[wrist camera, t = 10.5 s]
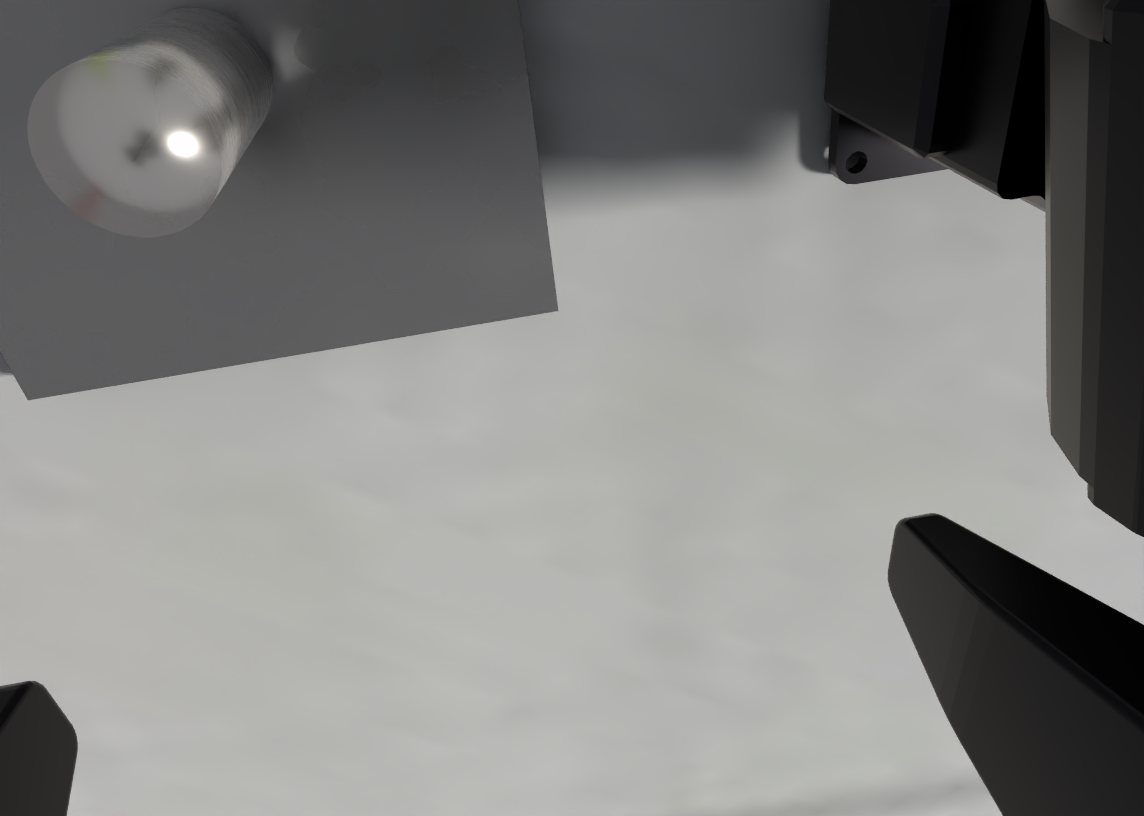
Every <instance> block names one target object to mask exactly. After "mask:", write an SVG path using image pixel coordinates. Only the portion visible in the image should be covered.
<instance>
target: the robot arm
mask: <svg viewBox="0 0 1144 816" xmlns="http://www.w3.org/2000/svg"><path fill="white" fill-rule="evenodd" d="M824 99H825V101H826V103H827V104H828V105H830V106H831V107H832V115H831V130H830V144H829V158H828V163H829V169H830V171H831V172H832V174H833V175H834V176H835V177H837V178H838V179H840V180H841V181H843V182H845V183H846V184H858V183H864V182H871V181H877V180H883V179H889V178H895V177H902V176H908V175H914V174H920V173H926V172H932V171H939V170H945V169H950V170H952V171H954V172H955V173H957V174H959V175H961V176H963V177H964V178H966V179H968V180H970V181H972V182H973V183H975V184H977V185H979V186H981V187H983V188H984V189H986V190H988V191H990V192H992V193H993V194H995V195H997V196H999V197H1001V198H1003V199H1017V198H1020V199H1022V200H1024V201H1025V202H1027V203H1029V204H1031V205H1033V206H1035V207H1037V208H1039V209H1040V210H1042V211H1044V212H1046V368H1047V403H1048V412H1049V421H1050V430H1051V435H1052V436H1053V438H1054V439H1055V441H1056V442H1057V444H1058V445H1059V447H1060V448H1061V450H1062V451H1063V453H1064V454H1065V456H1066V457H1067V458H1068V460H1069V461H1070V463H1071V464H1072V466H1073V467H1074V469H1075V470H1076V472H1077V473H1078V475H1079V476H1080V477H1081V478H1083V479H1084V480H1085V481H1086V482H1087V483H1088V488H1087V490H1088V498H1089V499H1090V501H1091V502H1092V503H1093V505H1095V506H1096V507H1098V508H1099V509H1101V510H1102V511H1103V512H1105V513H1106V514H1108V515H1109V516H1111V517H1112V518H1114V519H1115V520H1116V521H1118V522H1119V523H1121V524H1122V525H1124V526H1125V527H1126V528H1128V529H1129V530H1131V531H1132V532H1134V533H1136V534H1138V535H1140V536H1142V537H1144V0H830V14H829V30H828V45H827V61H826V76H825V92H824ZM857 151H859V155H860V156H859V159H858V162H857V163H856V164H855V165H854V166H853V167H851V168H849V169H846V162H847V159H848V158H849V156H850V155H851V154H852V153H855V152H857ZM888 582H889V587H890V591H891V593H892V596H893V598H894V601H895V603H896V605H897V607H898V610H899V612H900V614H901V616H902V619H903V621H904V623H905V625H906V628H907V630H908V632H909V634H910V637H911V639H912V641H913V643H914V646H915V648H916V650H917V652H918V655H919V657H920V659H921V661H922V664H923V666H924V668H925V670H926V673H927V675H928V677H929V679H930V682H931V684H932V686H933V688H934V691H935V693H936V695H937V697H938V700H939V702H940V704H941V706H942V708H943V710H944V712H945V714H946V716H947V718H948V720H949V722H950V724H951V726H952V728H953V730H954V731H955V733H956V735H957V737H958V739H959V741H960V742H961V744H962V746H963V748H964V749H965V751H966V753H967V754H968V756H969V758H970V760H971V761H972V763H973V765H974V767H975V768H976V770H977V772H978V773H979V775H980V777H981V779H982V780H983V782H984V784H985V786H986V787H987V789H988V791H989V792H990V794H991V796H992V798H993V799H994V801H995V803H996V805H997V806H998V808H999V810H1000V811H1001V813H1002V815H1003V816H1144V625H1143V624H1141V623H1139V622H1138V621H1136V620H1134V619H1132V618H1130V617H1128V616H1126V615H1125V614H1123V613H1121V612H1119V611H1117V610H1115V609H1114V608H1112V607H1110V606H1108V605H1106V604H1104V603H1103V602H1101V601H1099V600H1097V599H1095V598H1093V597H1091V596H1090V595H1088V594H1086V593H1084V592H1082V591H1080V590H1079V589H1077V588H1075V587H1073V586H1071V585H1069V584H1068V583H1066V582H1064V581H1062V580H1060V579H1058V578H1056V577H1055V576H1053V575H1051V574H1049V573H1047V572H1045V571H1044V570H1042V569H1040V568H1038V567H1036V566H1034V565H1033V564H1031V563H1029V562H1027V561H1025V560H1023V559H1022V558H1020V557H1018V556H1016V555H1014V554H1012V553H1010V552H1009V551H1007V550H1005V549H1003V548H1001V547H999V546H998V545H996V544H994V543H992V542H990V541H988V540H987V539H985V538H983V537H981V536H979V535H977V534H975V533H974V532H972V531H970V530H968V529H966V528H964V527H963V526H961V525H959V524H957V523H955V522H953V521H952V520H950V519H948V518H946V517H944V516H942V515H939V514H935V513H930V514H924V515H919V516H913V517H908V518H904V519H902V520H900V521H899V522H898V524H897V525H896V528H895V532H894V538H893V544H892V550H891V556H890V562H889V568H888ZM77 750H78V742H77V736H76V733H75V730H74V728H73V726H72V724H71V723H70V721H69V720H68V719H67V717H66V716H65V714H64V713H63V712H62V710H61V709H60V707H59V706H58V705H57V703H56V702H55V700H54V699H53V698H52V696H51V695H50V694H49V692H48V691H47V689H46V688H45V687H44V686H43V685H42V684H40V683H38V682H36V681H26V682H21V683H15V684H10V685H4V686H0V816H67V810H68V805H69V799H70V793H71V787H72V781H73V775H74V769H75V763H76V758H77Z"/></svg>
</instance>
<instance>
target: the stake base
mask: <svg viewBox="0 0 1144 816" xmlns="http://www.w3.org/2000/svg"><path fill="white" fill-rule="evenodd" d="M554 311H558V305H557V297H556V289H555V282H554V274H553V266H552V258H551V250H550V243H549V235H548V227H547V219H546V212H545V204H544V196H543V188H542V181H541V173H540V165H539V157H538V149H537V142H536V134H535V126H534V118H533V111H532V103H531V95H530V87H529V79H528V72H527V64H526V56H525V48H524V41H523V33H522V25H521V17H520V10H519V2H518V0H0V352H1V354H2V356H3V358H4V359H5V361H6V363H7V365H8V366H9V368H10V370H11V371H12V373H13V375H14V377H15V378H16V380H17V382H18V384H19V385H20V387H21V389H22V391H23V392H24V394H25V396H26V398H27V399H28V400H32V399H38V398H44V397H50V396H56V395H62V394H68V393H74V392H80V391H86V390H92V389H97V388H103V387H109V386H115V385H121V384H127V383H133V382H139V381H145V380H151V379H157V378H163V377H169V376H175V375H180V374H186V373H192V372H198V371H204V370H210V369H216V368H222V367H228V366H234V365H240V364H246V363H252V362H258V361H263V360H269V359H275V358H281V357H287V356H293V355H299V354H305V353H311V352H317V351H323V350H329V349H335V348H341V347H346V346H352V345H358V344H364V343H370V342H376V341H382V340H388V339H394V338H400V337H406V336H412V335H418V334H423V333H429V332H435V331H441V330H447V329H453V328H459V327H465V326H471V325H477V324H483V323H489V322H495V321H501V320H506V319H512V318H518V317H524V316H530V315H536V314H542V313H548V312H554Z"/></svg>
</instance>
